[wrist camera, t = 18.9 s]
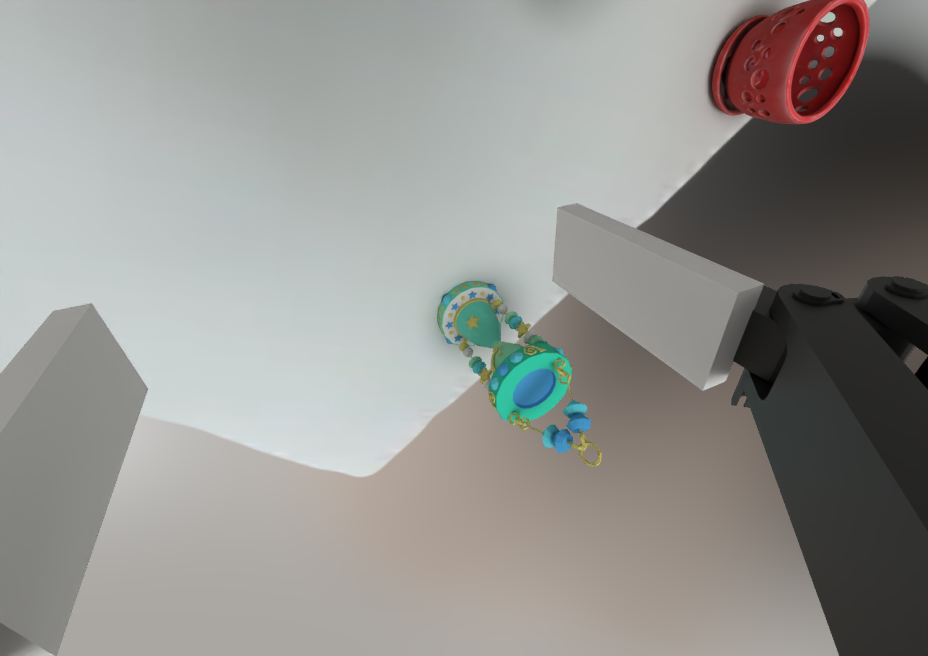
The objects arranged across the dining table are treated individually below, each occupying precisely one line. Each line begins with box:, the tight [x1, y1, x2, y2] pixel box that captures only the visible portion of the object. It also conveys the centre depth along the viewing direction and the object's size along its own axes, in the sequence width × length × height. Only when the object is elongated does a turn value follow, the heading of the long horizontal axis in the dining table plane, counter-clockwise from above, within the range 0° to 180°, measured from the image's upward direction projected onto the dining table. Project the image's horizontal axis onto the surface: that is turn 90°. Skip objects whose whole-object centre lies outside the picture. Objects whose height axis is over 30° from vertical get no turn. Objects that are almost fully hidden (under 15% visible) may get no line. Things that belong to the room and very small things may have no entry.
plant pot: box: [712, 0, 869, 124], centre depth 53 cm, size 13×13×12 cm
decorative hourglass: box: [437, 281, 602, 466], centre depth 49 cm, size 11×11×30 cm
